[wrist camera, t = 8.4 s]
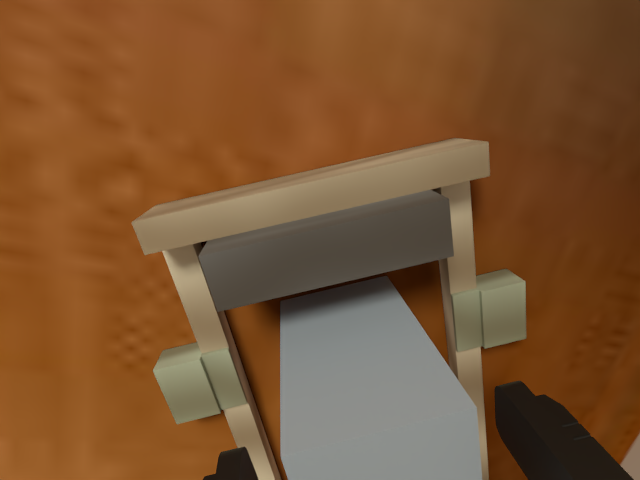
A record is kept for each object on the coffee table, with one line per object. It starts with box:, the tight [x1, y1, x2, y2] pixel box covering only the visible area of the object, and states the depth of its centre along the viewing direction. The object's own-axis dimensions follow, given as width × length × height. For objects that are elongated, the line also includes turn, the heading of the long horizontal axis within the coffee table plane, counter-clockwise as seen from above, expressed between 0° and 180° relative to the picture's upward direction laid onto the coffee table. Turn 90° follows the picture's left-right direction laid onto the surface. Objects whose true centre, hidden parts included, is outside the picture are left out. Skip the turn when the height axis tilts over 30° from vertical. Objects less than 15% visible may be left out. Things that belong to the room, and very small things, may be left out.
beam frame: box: [132, 138, 526, 480], centre depth 16 cm, size 22×16×4 cm
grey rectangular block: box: [280, 276, 482, 480], centre depth 13 cm, size 5×5×8 cm
